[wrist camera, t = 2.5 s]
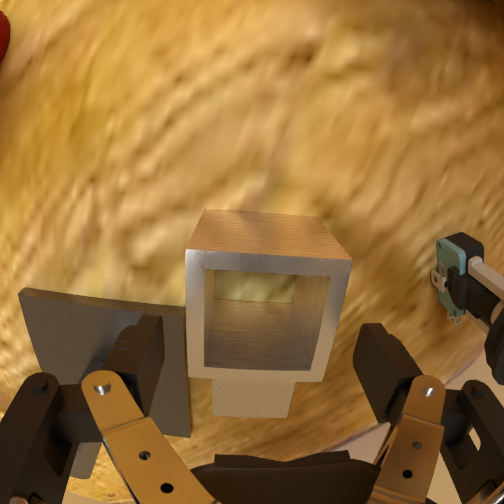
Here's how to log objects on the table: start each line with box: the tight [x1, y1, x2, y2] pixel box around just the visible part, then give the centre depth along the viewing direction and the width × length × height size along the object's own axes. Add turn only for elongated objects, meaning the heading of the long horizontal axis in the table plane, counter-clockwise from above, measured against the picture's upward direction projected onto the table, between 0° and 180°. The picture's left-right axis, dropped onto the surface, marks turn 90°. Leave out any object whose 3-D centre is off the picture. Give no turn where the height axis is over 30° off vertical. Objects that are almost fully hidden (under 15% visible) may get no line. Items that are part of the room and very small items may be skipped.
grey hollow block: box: [186, 209, 353, 418], centre depth 16 cm, size 10×6×6 cm, turn 175°
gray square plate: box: [18, 287, 192, 479], centre depth 16 cm, size 12×12×9 cm
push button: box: [431, 232, 504, 385], centre depth 14 cm, size 7×5×10 cm
